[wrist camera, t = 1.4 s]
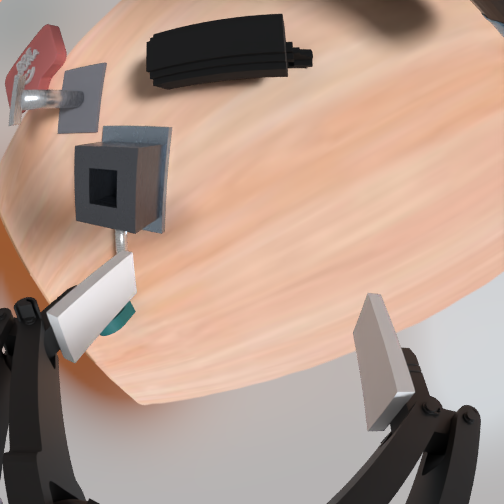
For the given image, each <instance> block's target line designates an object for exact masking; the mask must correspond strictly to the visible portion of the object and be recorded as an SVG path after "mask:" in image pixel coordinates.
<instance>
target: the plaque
mask: <svg viewBox="0 0 504 504" xmlns="http://www.w3.org/2000/svg"><path fill="white" fill-rule="evenodd" d="M66 56H67V54H66V49H65V46H64V42H63V39H62V35H61V32H60V28H59V27H58V26H53V25H49V24H47V25H45V26H44V27H43V28H42V29H41V30H40V31H39V32H38V34H37V35H36V36H35V37H34V39H33V40H32V41H31V42H30V44H29V45H28V46H27V48H26V49H25V50H24V52H23V53H22V54H21V56H20V57H19V58H18V60H17V61H16V63H15V64H14V66H13V67H12V68H11V70H10V71H9V73H8V75H7V77H6V81H5V86H6V92H7V96H8V102H9V106H10V107H11V98H12V90H13V83H14V78H15V77H17V76H26V82H25V88H24V90H48V88H49V84H50V80H51V78H52V77H53V75H54V74H55V73H56V72H57V71H58V70H59V69H60V68H61V66H62V65H63V64H64V62H65V60H66ZM25 111H26V110H22V113H24V112H25Z"/></svg>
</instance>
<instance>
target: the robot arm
mask: <svg viewBox="0 0 504 504" xmlns="http://www.w3.org/2000/svg"><path fill="white" fill-rule="evenodd" d="M470 1H471V2H472V3H473V4H474V5H475V6H476V7H477V8H478V9H479V10H480V11H481V12H482V15H483V16H484V17H485V18H486V19H487V20H488V21H490V22H491V23H492V24H493V25H494V27H495V28H496V29H497V30H498V31H499V32H500V34H501V35H502V36H503V37H504V0H470ZM136 293H137V290H136V281H135V272H134V262H133V252H128V251H123V250H122V251H120V252H119V253H118V254H116V255H115V256H114V257H113V258H111V259H110V260H109V261H107V262H106V263H105V264H104V265H102V266H101V267H100V268H98V269H97V270H96V271H95V272H93V273H92V274H91V275H90V276H88V277H87V278H86V279H85V280H84V281H82V282H81V283H80V284H79V285H78V286H77V285H76V286H73V287H71V288H69V289H67V290H66V291H65V292H64V293H63V294H62V295H60V296H59V297H58V298H57V300H54V301H53V302H52V303H51V304H50V305H49V306H47V307H46V308H45V309H44V310H43V311H42V312H41V313H40V310H39V307H38V304H37V301H36V300H35V299H34V298H32V297H26V298H23V299H21V300H19V301H18V302H17V303H16V304H15V305H14V310H15V312H16V315H17V318H15V317H13V315H12V313H11V310H9V309H8V308H1V309H0V478H1V471H2V463H3V471H4V479H5V486H6V492H7V498H8V503H9V504H99V503H97V502H95V501H93V500H91V499H89V500H88V501H86V499H85V497H84V494H83V492H82V490H81V488H80V486H79V485H78V483H77V481H76V479H75V477H74V473H73V469H72V465H71V461H70V456H69V451H68V446H67V440H66V435H65V428H64V422H63V414H62V405H61V396H60V383H59V365H58V364H59V363H58V361H59V360H58V355H57V352H58V351H59V350H61V352H62V354H63V356H64V358H66V359H67V360H69V361H71V362H74V363H76V362H77V360H78V359H79V358H80V357H81V356H82V354H83V353H84V352H85V351H86V350H87V348H88V347H89V346H90V345H91V344H92V343H93V341H94V340H95V339H96V338H97V337H98V336H99V334H100V333H101V332H102V331H103V330H104V329H105V327H106V326H107V325H108V324H109V323H110V322H111V321H112V320H113V318H114V317H115V316H116V315H117V314H118V313H119V312H120V311H121V309H122V308H123V307H124V306H125V305H126V304H127V303H128V302H129V301H130V300H131V298H132V297H133V296H134V295H135V294H136ZM353 336H354V341H355V347H356V352H357V358H358V364H359V370H360V376H361V383H362V390H363V397H364V405H365V413H366V421H367V430H368V431H384V430H385V429H386V428H387V426H388V425H389V424H390V426H391V432H390V433H389V434H388V435H387V436H386V437H385V439H384V440H383V441H382V442H381V445H380V446H379V447H378V449H377V450H376V451H375V452H374V454H373V455H372V456H371V457H370V458H369V460H368V461H367V462H366V463H365V464H364V466H363V467H362V468H361V469H360V470H359V471H358V472H357V473H356V474H355V475H354V477H353V478H352V479H351V480H350V481H349V482H348V483H347V484H346V485H345V486H344V487H343V488H342V490H340V491H339V492H338V493H337V494H336V495H335V496H334V497H333V498H332V499H331V500H330V501H329V502H328V503H327V504H388V503H389V502H390V501H391V500H392V498H393V497H394V496H395V494H396V493H397V492H398V490H399V489H400V487H401V486H402V485H403V483H404V482H405V480H406V478H407V477H408V476H409V474H410V472H411V471H412V469H413V468H414V466H415V465H416V463H417V461H418V460H419V458H420V456H421V454H422V453H423V455H422V459H421V462H420V465H419V468H418V472H417V474H416V477H415V480H414V483H413V486H412V489H411V491H410V494H409V497H408V499H407V501H406V504H469V500H470V496H471V491H472V486H473V481H474V476H475V470H476V464H477V457H478V449H479V438H480V425H481V419H480V415H479V413H478V411H477V410H476V409H475V408H474V407H472V406H469V405H464V406H462V407H461V408H460V409H459V410H458V411H457V412H455V411H450V410H446V409H443V408H442V405H441V404H440V402H439V401H438V400H437V399H436V398H434V397H432V396H430V395H429V392H428V389H427V386H426V383H425V380H424V377H423V374H422V373H421V369H420V366H419V364H418V361H417V358H416V356H415V354H414V353H413V352H412V351H411V350H410V348H401V346H400V343H399V341H398V338H397V335H396V332H395V330H394V327H393V324H392V322H391V319H390V317H389V314H388V311H387V309H386V306H385V304H384V301H383V299H382V297H381V295H380V294H373V293H367V296H366V299H365V302H364V305H363V308H362V310H361V313H360V316H359V318H358V321H357V324H356V326H355V329H354V331H353ZM3 346H4V348H5V350H6V351H5V353H4V354H3V352H2V348H3ZM8 425H9V439H10V451H9V452H6V453H4V448H5V441H6V435H7V430H8ZM0 504H3V502H2V500H1V499H0Z"/></svg>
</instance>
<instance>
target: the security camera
mask: <svg viewBox="0 0 504 504" xmlns="http://www.w3.org/2000/svg"><path fill="white" fill-rule="evenodd" d="M312 58H313V54H312V51H311V50H307V49H300V48H299V47H296V48H293V44H292V42H286V38H285V28H284V21H283V15H282V14H268V15H254V16H244V17H235V18H228V19H221V20H215V21H209V22H203V23H198V24H193V25H189V26H184V27H180V28H176V29H172V30H168V31H164V32H161V33H157V34H154V35H153V38H150V41H149V42H147V56H146V72H150V79H153V86H157V87H161V88H164V89H173V88H178V87H184V86H190V85H196V84H202V83H209V82H217V81H226V80H235V79H247V78H262V77H288V68H306V67H312V66H313V64H312ZM287 62H288V65H287Z"/></svg>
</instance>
